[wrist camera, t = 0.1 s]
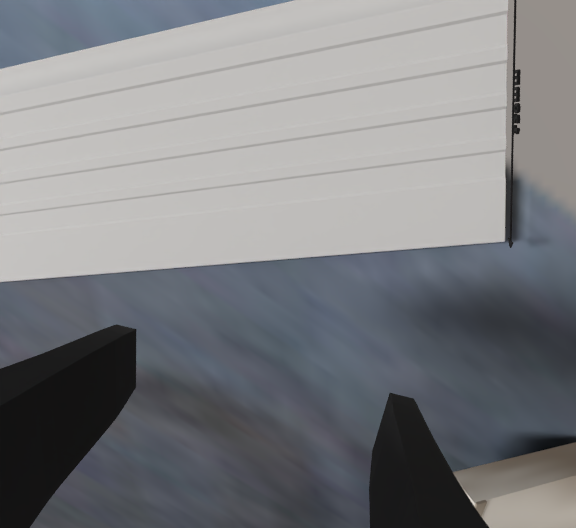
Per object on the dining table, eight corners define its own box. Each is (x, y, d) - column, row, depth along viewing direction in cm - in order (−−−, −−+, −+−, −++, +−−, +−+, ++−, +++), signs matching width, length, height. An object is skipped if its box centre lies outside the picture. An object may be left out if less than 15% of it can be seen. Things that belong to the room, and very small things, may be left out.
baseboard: (-130, 70, 23) (-37, 277, 27) (-198, 67, 20) (-84, 297, 24) (501, -91, 15) (497, 231, 19) (526, -131, 12) (516, 252, 16)
